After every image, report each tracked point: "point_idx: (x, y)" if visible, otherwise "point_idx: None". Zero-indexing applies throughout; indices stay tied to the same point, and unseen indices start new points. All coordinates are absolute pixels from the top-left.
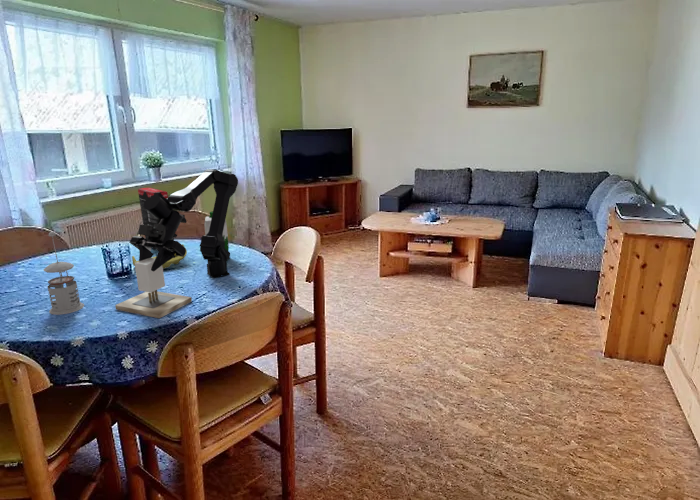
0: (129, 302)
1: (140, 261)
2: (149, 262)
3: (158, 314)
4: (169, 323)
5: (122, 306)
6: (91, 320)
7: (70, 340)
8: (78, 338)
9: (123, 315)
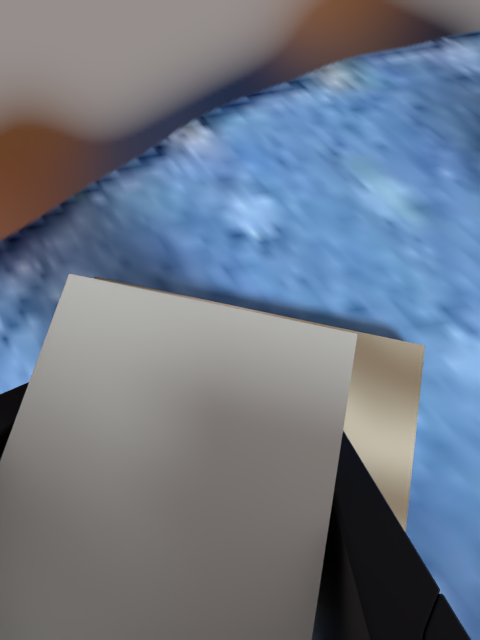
0: (367, 398)
1: (308, 446)
2: (83, 407)
3: (98, 278)
4: (29, 245)
5: (364, 333)
6: (429, 215)
7: (355, 57)
8: (337, 74)
9: (313, 289)
